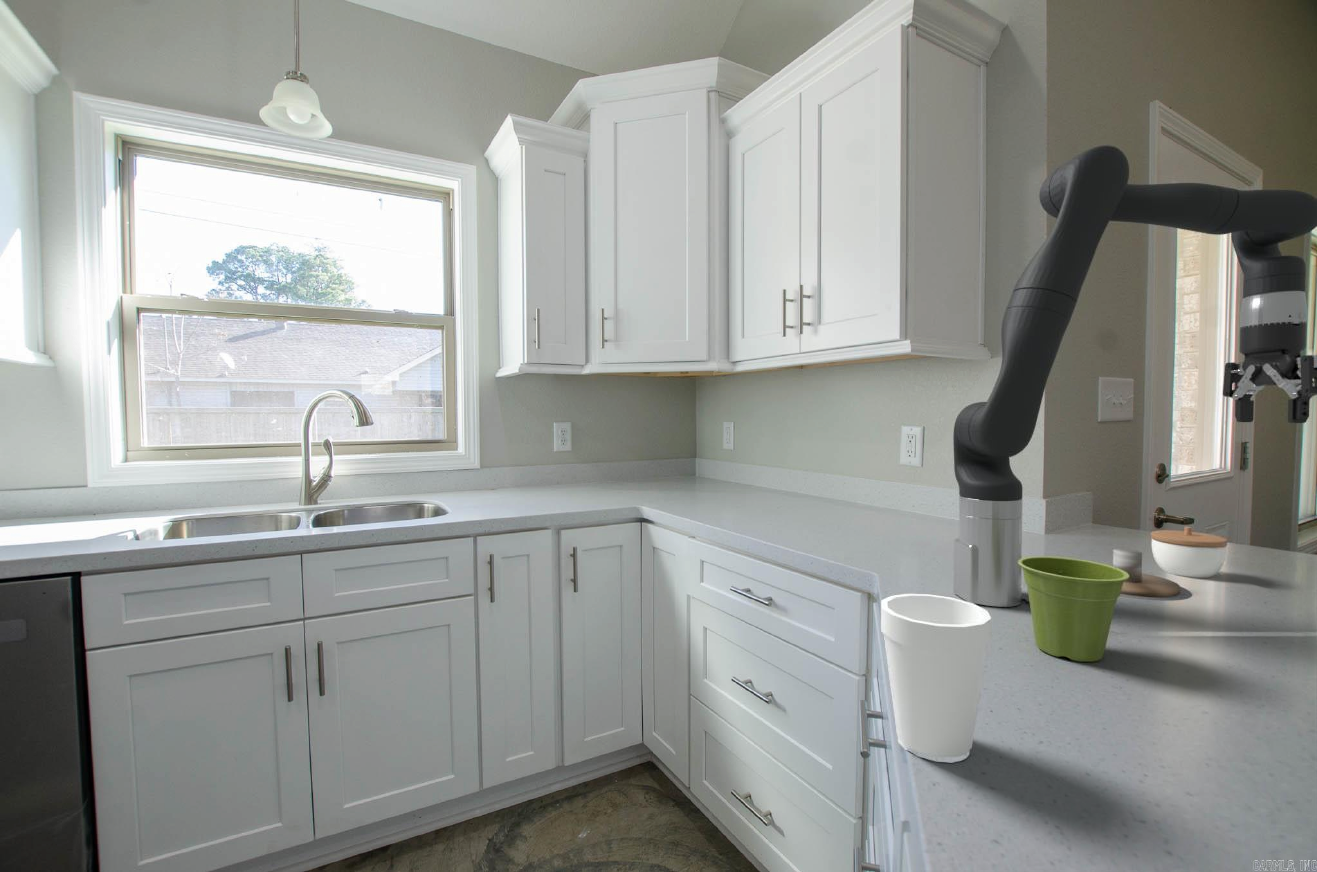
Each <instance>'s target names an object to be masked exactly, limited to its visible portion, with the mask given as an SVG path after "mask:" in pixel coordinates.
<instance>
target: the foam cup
mask: <svg viewBox="0 0 1317 872" xmlns="http://www.w3.org/2000/svg"><path fill="white" fill-rule="evenodd" d="M989 613H990V612H989V611H988V610H987V609H985V608H983V607H981V606H979V605H978V604H973V603H969V602H967V601H966V600H963V599H958V598H955V597H949V596H942V595H937V594H936V595H934V594H930V593H929V594H928V593H927V594H926V593H924V594H923V593H903V594H902V593H901V594H895V595H890V596H888V597H886V598H884V599H881V601H880V631H881V632H882V634H883V638H884V646H885V656H886V662H887V669H888V678H889V684H890V693H891V699H892V700H891V701H892V707H893V716H894V722H895V729H896V730H895V731H896V736H897V742H898V744H899V745H900V746H901V747H902V748H903V749H904V750H905V751H906V750H907V749H908V748H911V749H913V750H916V751H918V752H922V753H923V754H927V755H931V756H935V757H959V756H962V755H966V754H967V753H968V752H969V750H970V749H972V748H973V742H974V736H975V730H976V729H975V728H976V724H977V723H976V722H977V717H978V711H979V704H980V698H981V693H982V687H983V680H984V675H985V673H984V672H985V668H986V661H987V656H988V655H987V654H988V649H989V646H990V645H992V617H991V615H990V614H989Z"/></svg>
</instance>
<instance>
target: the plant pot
mask: <svg viewBox="0 0 1317 872" xmlns="http://www.w3.org/2000/svg"><path fill="white" fill-rule="evenodd" d="M1018 564H1019V565H1020V566H1021V567H1022V573H1023V579H1024V582H1025V584H1026V588H1027V589H1026V590H1027V594H1028V600H1029V606H1030V614H1031V620H1032V627H1033V636H1034V641H1035V645H1036V646H1037V648H1038V649H1040V650H1041V651H1042V652H1045V653H1046V654H1048V655H1051V656H1053V657H1058V658H1059V657H1065V658H1069V660H1072V661H1075V662H1079V663H1080V662H1081V663H1082V662H1084V663H1085V662H1090V663H1092V662H1093V663H1094V662H1098V661H1100V660H1102V659H1103V656H1104V654H1105V651H1106V645H1107V642H1108V638H1109V633H1110V629H1111V625H1112V623H1113V622H1112V621H1113V617H1114V613H1115V608H1116V605H1117V604H1116V603H1117V601H1118V598H1120V597H1121V596H1120V593H1121V589H1122V586H1123V582H1124V581H1126V580H1128V579H1129V574H1128V573H1127V572H1125V571H1123V570H1121V569H1119V568H1116V567H1113V565H1109V564H1105V563H1101V562H1095V561H1090V560H1084V559H1078V558H1073V557H1060V556H1027V557H1022V559H1020V560H1018Z"/></svg>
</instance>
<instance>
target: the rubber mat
mask: <svg viewBox="0 0 1317 872" xmlns="http://www.w3.org/2000/svg"><path fill="white" fill-rule="evenodd" d="M1192 595H1193V594H1192V592H1191V591H1190V590H1188V589H1187V588H1185V587H1182V586H1180V594H1179V595H1177V596H1173V597H1141V596H1132V595H1125V594H1120V596H1119V597H1123V598H1127V599H1129V598H1130V599H1134V600H1135V599H1137V600H1146V601H1147V600H1148V601H1160V602H1161V601H1165V602H1166V601H1168V602H1169V601H1183V600H1187V599H1190V598H1191V597H1192Z"/></svg>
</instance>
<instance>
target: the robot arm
mask: <svg viewBox="0 0 1317 872" xmlns="http://www.w3.org/2000/svg"><path fill="white" fill-rule="evenodd" d="M1129 165H1130V164H1129V161H1128V159H1127V156H1126V155H1125V153H1124V152H1123V151H1122V150H1121V149H1120V148H1118V147H1116V146H1114V145H1109V144H1108V145H1107V144H1106V145H1098V146H1095V147H1092V148H1090V149H1087V150H1086V151H1083V152H1081V153H1080V154H1078V155H1076V156H1074V157H1072V158H1071V159H1069V160H1068V161H1066V162H1065V163H1063V164H1062V165H1060V166H1059V167H1058V168H1056V169H1055V170H1054V171H1053V172H1051V173H1050V174H1049V175H1048V176H1047V177H1046V178H1045V179H1044V181H1043V182H1042V184H1041V187H1040V189H1039V202H1040V205H1041V207H1042V209H1043V210H1044V211H1045V212H1046V213H1047V214H1048V215H1050V216H1051V217H1053V218H1055V219H1056V220H1055V223H1054V224H1053V227H1052V229H1051V231H1050V233H1049V234H1048V236H1047V238H1046V239H1045V240H1044V242H1043V243H1042V245H1041V246H1040V247H1039V249H1038V251H1036V253H1035V254H1034V255H1033V257H1032V258H1031V260H1030V261H1029V263H1028V264H1027V265H1026V266H1025V268H1024V270H1023V271H1022V273H1021V274H1020V276H1019V278H1018V280H1016V283H1015V285H1014V287H1013V290H1012V293H1011V295H1010V298H1009V300H1008V303H1007V306H1006V309H1005V311H1004V314H1003V317H1002V322H1001V335H1000V337H1001V353H1002V356H1001V357H1002V359H1001V366H1000V370H999V372H998V375H997V376H998V377H997V379H996V382H995V383H994V386H993V388H992V391H991V392H990V395H989V397H988V399H987V401H979V402H978V401H977V402H975V403H974V402H973V403H970V404H969V405H967V406H965V407H964V408H963V409H961V411H960V412H959V413H958V415H957V417H956V419H955V422H954V425H953V439H952V440H953V462H954V464H953V468H954V475H955V479H956V481H957V485H958V493H959V494H958V495H959V499H958V500H959V506H958V508H959V509H958V511H959V512H958V515H959V516H958V518H959V519H958V526H959V527H958V538H954V540H953V594H954V595H957V596H958V597H960V598H961V599H962V600H963V601H966V602H969V603H973V604H975V605H983V606H988V607H989V606H991V607H1001V608H1003V607H1004V608H1005V607H1006V608H1007V607H1015V606H1018V605H1021V604H1022V592H1023V590H1022V589H1023V588H1022V584H1023V581H1022V575H1023V574H1022V573H1023V568H1022V567H1021V566H1020V565H1019V564H1018V560H1020V559H1022V558H1023V484H1022V482H1021V480H1020V479H1019V478H1018V477H1017V476H1016V475H1015V474H1014V472H1013V471H1012V468H1011V464H1010V458H1013V457H1015V456H1017V455H1018V454H1020V453H1022V452H1023V451H1024V449H1026V448H1027V446H1028V445H1029V444H1030V442H1031V439H1032V438H1033V435H1034V431H1035V428H1036V426H1037V421H1038V418H1039V413H1040V409H1041V404H1042V400H1043V397H1044V392H1045V389H1046V386H1047V382H1048V379H1049V376H1050V373H1051V370H1052V369H1053V366H1054V363H1055V360H1056V357H1057V355H1058V351H1059V349H1060V346H1061V343H1062V340H1063V338H1064V336H1065V333H1066V331H1067V329H1068V326H1069V324H1070V321H1071V320H1072V319H1071V318H1072V316H1073V314H1074V312H1075V309H1076V306H1077V303H1078V300H1079V296H1080V293H1081V290H1082V287H1083V284H1084V282H1085V280H1086V277H1087V274H1088V272H1089V270H1090V267H1091V265H1092V262H1093V261H1094V257H1095V254H1096V251H1097V249H1098V245H1099V244H1100V241H1101V239H1102V236H1103V234H1104V233H1105V230H1106V228H1107V226H1108V224H1109V222H1123V223H1135V224H1146V225H1153V226H1159V227H1160V226H1162V227H1168V228H1173V229H1180V230H1186V231H1189V232H1194V233H1195V232H1197V233H1202V234H1205V235H1206V234H1207V235H1215V236H1217V235H1221V236H1222V235H1228V234H1230V235H1231V236H1230V237H1231V242H1232V247H1233V249H1234V252H1235V254H1236V257H1237V260H1238V264H1239V267H1240V269H1241V271H1242V275H1243V282H1242V284H1243V285H1242V287H1243V288H1242V302H1241V307H1240V314H1239V315H1240V316H1239V319H1240V320H1239V321H1240V322H1239V353H1240V354H1242V355H1243V356H1244V359H1243V361H1238V362H1237V361H1236V362H1235V361H1234V362H1226V363H1225V365H1224V372H1223V373H1224V374H1223V387H1222V389H1223V390H1222V396H1223V397H1227V398H1231V399H1233V400H1234V401H1235V402H1234V417H1235V419H1236V420H1235V421H1236V422H1237V423H1252V422H1253V421H1254V415H1255V414H1254V411H1255V410H1254V409H1255V407H1254V405H1255V403H1254V402H1255V401H1254V400H1253V399H1254V398H1255V396H1257V394H1258V393H1259V391H1261V390H1263V389H1265V387H1269V386H1272V387H1273V386H1277V387H1278V388H1280V389H1283V390H1284V392H1285V393H1286V394H1287V396H1288V397H1289V398H1291V399H1287V422H1288V423H1289V424H1305V423H1306V422H1307V421H1308V419H1309V417H1310V405H1311V404H1310V402H1311V399H1312V398H1313V397H1315V396H1317V354H1308V355H1302V353H1301V351H1304V350H1305V349H1306V348H1307V328H1308V326H1307V324H1308V323H1307V322H1308V320H1307V319H1308V305H1307V297H1306V276H1307V275H1306V273H1307V271H1306V270H1307V269H1306V268H1307V267H1306V261H1305V259H1304V258H1302V257H1301V256H1298V255H1283V254H1282V252H1281V250H1280V248H1279V244H1280V243H1283V242H1287V241H1291V240H1293V239H1297V238H1300V237H1302V236H1305V235H1307V234H1308V233H1311V232H1312V231H1313V230H1314V229H1316V228H1317V198H1316V196H1314V195H1313V194H1310V193H1308V192H1305V191H1301V190H1295V189H1249V190H1247V189H1246V190H1241V189H1237V188H1232V187H1227V186H1221V185H1216V184H1210V183H1209V184H1208V183H1201V182H1174V183H1173V182H1170V183H1153V184H1152V183H1151V184H1137V183H1136V184H1134V183H1129V179H1130V178H1129V177H1130V166H1129ZM1233 386H1234V389H1233Z"/></svg>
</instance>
